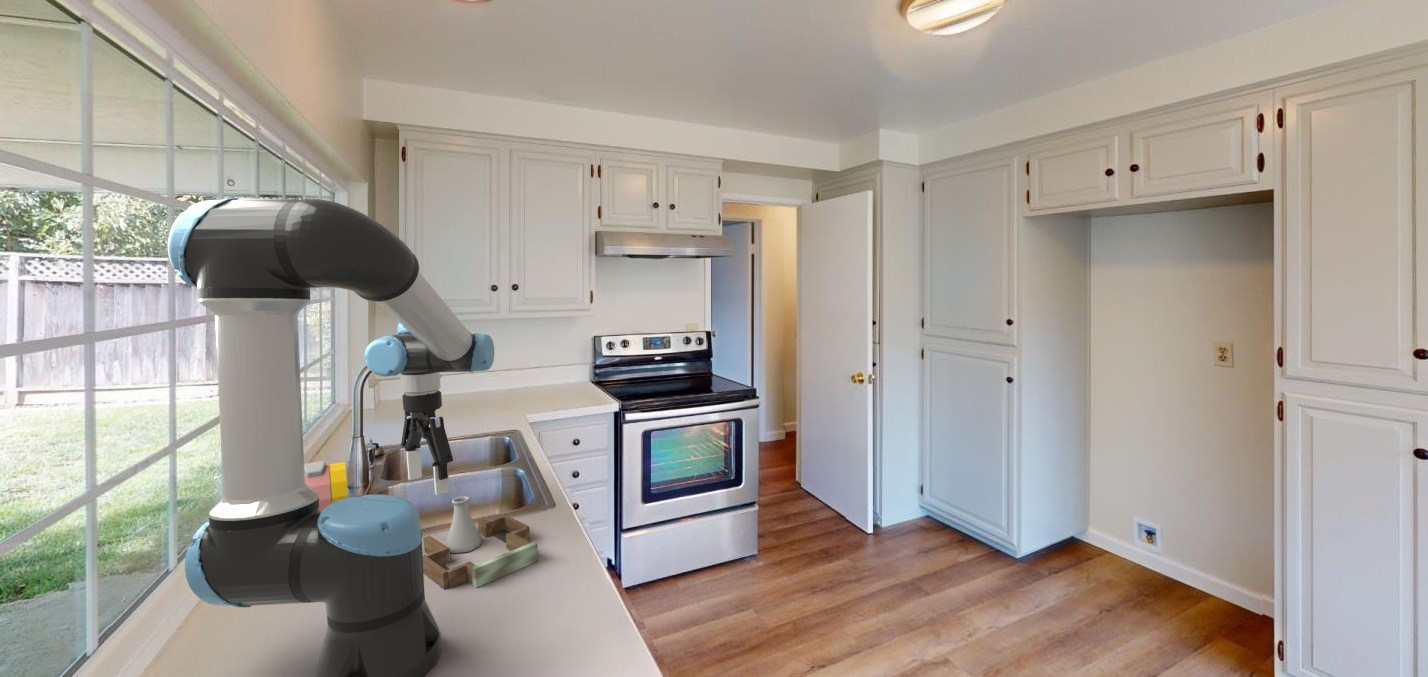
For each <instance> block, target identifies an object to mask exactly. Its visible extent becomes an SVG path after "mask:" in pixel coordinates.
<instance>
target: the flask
mask: <svg viewBox="0 0 1428 677" xmlns="http://www.w3.org/2000/svg"><path fill="white" fill-rule="evenodd" d="M470 498H471V497H469V496H457V497H455V498H453V499H452V501H451V504H452V505H453V516H452V520H451V525H450V528H449V530H448V535H447V536H446V540H445V544H444V545H445V546H447V547H448V548H449V552H450V553H451V554H460V553H469V552H471V551H473V550H475V549H476V548H478V547H480V546H481V544H482V542H483V536H482V534H480V533H479V531H478V526H477V525H476V524H475V522H474V519H473V517H472V515H471V511H470V508H469V507H470V506H469V501H470Z"/></svg>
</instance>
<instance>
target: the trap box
mask: <svg viewBox="0 0 1428 677" xmlns="http://www.w3.org/2000/svg"><path fill="white" fill-rule="evenodd" d="M477 529H478V531H479V533H480V535H481V536H484V537H485V538H487V537H488V538H489V537H491V536H493V537H494V538H496V539H498V540H500V541H501V542H503V543H504V544H505V546H506V547H505V548H506V549H507V550H508V552H505V553H503V554H501V555H498V556H495V557H493V558H491V559H487V560H485V561H483V562H481V563H478V564H475V563H474V562H471V561H466V562H465V563H464V562H463V563H461V564H459V565H457V566H454V567H450V568H449V567H448V566H447V565H448V564H451V556H450V555H451V554H450V552H449V548H448V547H447V546H445V544H443V543H442V542H440V541H439V540H438V539H436V538H434V536H433V537H432V536H431V535H427V536H424V537H423V549H424V551H423V552H424V553H425V554H424V555H423V573H424V576H426V577H427V578H428V579H429V580H431V581H432V582H434V583H435V584H436V585H437V586H439V587H440V588H442V590H446V589H448V588H449V589H451V588H454V587H457V586H459V585H461V584H463V583H466V582H467V583H468V584H470V585H471V586H473V587H474V588H476V589H477V588H479V587H482V586H484V585H486V584H489V583H490V582H493V581H495V580H496V581H497V580H498V579H500V578H502V577H504V576H507V575H509V574H511V573H513V572H516V571H518V570H520V569H522V568H523V569H524V568H525V567H527V566H530V565H532V564H535V563H537V562H539V549H538V548H539V547H538V543H537V542H536V541H532V542H531V541H530V540H531V536H530V525H527V524H525V523H523V522H521V521H519V520H517V519H515V518H513V517H511V516H508V514H507V515H504V516H503V515H500V516H498V517H495V518H492V519H487V518H485V517H479V518H478V519H477Z"/></svg>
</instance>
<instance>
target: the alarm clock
mask: <svg viewBox="0 0 1428 677" xmlns="http://www.w3.org/2000/svg"><path fill="white" fill-rule="evenodd" d="M304 472H305V484H306V485H307V486H308V487H310V488H312V489H313V490H315V491H316V492H318V494H319V509H320V512H322V510H323V509H324V508H325V507H327V506H328V505H330V504H332V503H334V502H336V501H339V500H342V499H345V498H349V492H348V489H349V488H348V480H347V479H348V478H347V470H346V462H345V461H343V462H336V463H330V464H327V463H326V461H324V460H319V461H315V462H313V461H312V462H307V463H304Z"/></svg>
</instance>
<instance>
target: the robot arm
mask: <svg viewBox="0 0 1428 677" xmlns="http://www.w3.org/2000/svg"><path fill="white" fill-rule="evenodd" d="M167 253H168V257H169V262H170V265H171V266H172V268H173V269H174V270H175V271H178V272H177V276H178V277H179V278H180V280H182V281H183V282H185V283H186V284H188V285H189V286H192V287H194V288H196V289H197V302H198V303H199V304H201V305H202V306H203V307H205V308H206V309H207V310H209V311H210V312H211V314H213V316H214V328H215V347H216V368H217V369H216V370H217V371H216V372H217V386H218V387H217V388H218V404H219V405H218V406H219V426H220V427H219V428H220V431H219V432H220V448H221V450H220V451H221V467H222V468H221V469H222V486H223V487H222V489H223V496H222V499H221V500H219V501H218V502H217V504H215V505H214V506H213V508H212V509H210V511H208V512H209V513H208V521H206V522H205V523H204V524H203V525H201V526H200V527H199V528H198V530H196V532H195V533H194V535H193V536H192V539H191V542H192V545H191V546H189V547H187V550H186V553H185V560H184V574H185V578H186V582H187V584H188V587H189V589H190V590H191V591H192V593H193V594H194V595H195V597H197V598H198V599H199V600H201V601H202V602H205V603H207V604H209V605H212V606H217V607H218V606H220V607H235V608H251V607H255V606H272V605H273V606H274V605H290V604H293V605H294V604H311V603H312V604H313V603H324V604H325V608H326V609H325V610H326V621H327V628H326V632H325V635H324V639H323V641H322V646H321V649H320V653H319V654H318V659H317V662H316V666H315V672H314V673H315V674H314V677H424V676H425V675H427V673H428V672H429V671H431V669H432V668H434V666H435V665H436V663H437V662H438V660H439V659H440V656H441V654H442V649H443V648H442V635H441V630H440V628H439V625H438V623H437V622H436V620H435V618H434V617H435V616H433V613H432V611H431V609H430V607H429V605H428V603H427V600H426V594H425V579H424V578H425V575H424V573H423V556H424V555H423V541H422V540H423V538H424V537H423V536H424V535H423V530H422V526H421V521H420V514H419V511H418V509H417V507H416V506H415V505H414V504H413V503H412V502H411V501H409V500H408V499H405V498H403V497H399V496H395V495H390V494H389V495H388V494H362V495H361V496H358V497H356V496H350V497H348V498H345V499H342V500H339V501H336V502H334V503H332V504H330V505H328V506H327V507H325V508H324V509H323V510H322V512H320V509H319V494H318V492H316V491H315V490H313V489H312V488H310V487H308V486H307V485H306V484H305V472H304V465H305V453H304V452H305V451H304V434H303V433H304V430H303V426H304V425H303V411H302V410H303V407H302V406H303V404H302V386H301V385H302V383H301V382H302V381H301V358H300V337H299V334H300V333H299V319H298V318H299V313H300V312H301V311H303V309H304V308H306V307H307V305H309V304H311V302H312V301H311V288H315V289H316V288H336V289H337V288H338V289H343V290H349V291H352V292H354V293H355V295H358V296H359V297H360V298H361V299H363V300H366V301H367V302H368V301H369V302H372V303H377V304H378V305H379V306H381V308H382V309H384V310H385V311H386V312H387V313H388V314H389V315H390V316H392V317H393V318H394V319H395V321H397V322H398V325H397V332H396V334H394V335H393V334H392V335H383V336H382V337H379V338H377V339H375V340H372V341H371V342H370V343H369V344H368V345H367V346H366V348H365V350H364V356H363V357H364V362H365V365H366V367H367V368H368V370H369V371H370V372H372V373H373V374H374V375H376V376H378V377H379V376H380V377H385V378H387V377H395V376H398V375H400V385H401V386H400V387H401V388H400V389H401V392H403V395H402V396H401V397H402V409H403V411H404V422H403V423H404V424H403V428H402V437H401V444H400V445H401V447H402V448H404V451H405V452H406V462H407V463H406V466H407V480H408V481H413V480H417V479H422V477H423V473H422V472H423V471H422V470H423V469H422V457H421V456H422V455H421V448H422V447H421V444H420V443H421V440H422V439H424V440H425V441H426V444H427V446H428V448H429V451H430V453H431V456H432V460H433V461H434V462H433V463H432V464H431V466H432V470H433V484H434V495H436V496H439V495H443V494H445V493H446V494H447V493H449V492H450V481H449V480H450V479H449V466H448V465H449V463H452V462H453V461H454V458H453V454H452V451H451V447H450V444H449V439H448V435H447V431H446V427H445V421H444V417H443V416H438V417H437V416H436V411H437V410H439V409H441V408H442V406H443V400H442V392H441V391H440V389H441V378H443V376H442V373H475V372H486V371H488V370H490V369H491V368H492V366H493V364H494V360H495V345H494V341H493V339H492V336H490V334H486V333H478V332H477V333H472V332H470V331H469V329H468V328H467V327H466V326H465V324H464V323H462V321H461V320H460V319H459V317H458V316H457V315H456V314H455V313H454V312H453V310H452V309H451V308H450V307H449V306H448V304H447V303H446V302H445V300H443V299H442V297H441V295H439V294H438V292H437V291H436V290H435V289H434V288H433V286H432V285H431V284H430V282H428V280H427V279H426V278H425V276H423V274H422V273H421V272H420V271H421V270H420V263H419V262H420V261H419V259H418V258H417V257H416V255H415V254H414V253H413V252H412V249H410V248H409V246H408V245H407V244H406V243H405V242H404V241H403V240H402V239H400V237H399V236H398V235H396V234H395V233H394V232H392V230H390V229H389V228H387V227H386V226H384V225H382V223H380V222H378V221H377V220H375V219H374V218H371V217H369V215H367V214H365V213H363V212H360V211H359V210H356V209H354V208H353V207H349V206H348V205H345V204H341V203H339V202H335V201H331V200H328V199H327V200H326V199H320V198H319V199H317V198H305V199H286V198H283V199H282V198H247V197H246V198H245V197H244V198H242V197H241V198H240V197H231V198H223V199H214V200H213V199H212V200H209V199H208V200H204V201H203V200H202V201H200V202H197V203H194V204H192V205H190V206H188V208H187V209H186V210H184V211H183V212H181V213H180V214H179V215H178V216H177V218H176V219H175V221H174V222H173V224H172V225H171V228H170V231H169V235H168V240H167Z"/></svg>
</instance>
